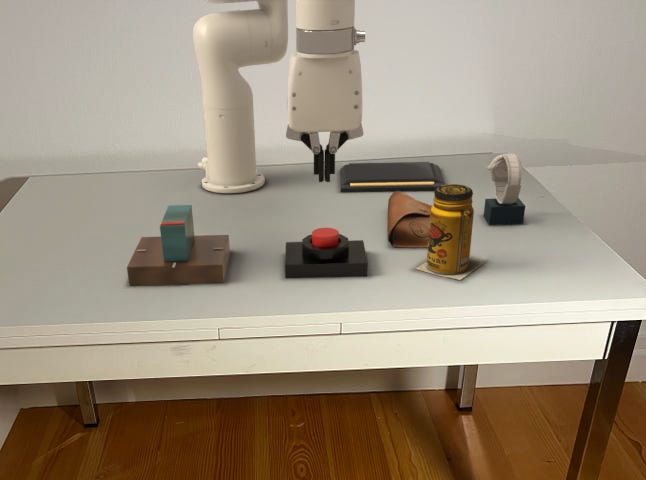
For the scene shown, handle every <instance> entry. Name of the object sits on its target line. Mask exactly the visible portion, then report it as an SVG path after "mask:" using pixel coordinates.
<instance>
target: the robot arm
mask: <svg viewBox="0 0 646 480" xmlns="http://www.w3.org/2000/svg"><path fill="white" fill-rule="evenodd" d="M204 1H206V2H207V3H209V4H210V3H211V4H235V3H246V2H247V3H249V2H256V3H257V5H258V8H255V9H243V10H242V9H238V10H227V11H217V12H212V13H209V14H205V15H203V16H202V17H200V18H199V19H198V20H196V22H195V24H194V26H193V30H192V43H193V48H194V52H195V56H196V61H197V66H198V70H199V77H200V83H201V94H202V103H203V116H204V128H205V129H204V130H205V142H206V153H207V156H203V157H202V158H201V161H199V162H198V163H197V168H198V169H199V170H203V171H205V176H203V178H202V179H201V187H202V188H203V189H204V190H206V191H208V192H211V193H216V194H240V193H241V194H242V193H247V192H251V191H254V190H257V189H260V188H261V187H262V186H264V184H265V178H266V177H265V175H264V174H262V173H261V172H258V171H257V157H256V155H257V154H256V134H255V131H256V130H255V112H254V109H255V108H254V95H253V90H252V87H251V86H250V84H249V83H248V81H247V80H246V79H245V78H244V76H242V74H241V73H240V71H239V69H241V68H245V67H252V66H260V65H269V64H275V63H277V62H280V61H281V60H283V59H284V57H285V56H286V54H287V51H288V46H289V7H288V5H289V3H288V0H204ZM355 8H356V0H295V36H296V37H295V38H296V39H295V41H296V43H295V44H296V48H295V49H296V51H293V52H291V54H290V59H289V65H288V72H287V73H288V74H287V99H286V102H287V103H286V109H287V110H286V111H287V127H286V131H285V137H286V138H287V139H288V140H292V141H297V142H301V143H303V144H304V145H305V146H306V147H307V148H308V149H309V150H310V151H311V153H312V154H313V175H317V176H318V182H319V183H323V182H324V181H325V182H326V183H330V182H331V175H336V153H337V152H338V150H339V149H340V148H341V147H342V146H343V145H344V144H345V143H346V142H347V141H349V140H355V139H358V138H361V137H363V136H364V128H363V124H362V121H363V77H362V66H361V65H362V64H361V58H360V57H361V56H360V51H359V50H356V49H355V46H357V44H360V43H365V42H366V31H365V30H360V29H357V28H356V27H355V14H356V11H355V10H356V9H355ZM328 132H329V136H328V143H327V144H326V146H325V149H324V148H323V145H322V144H321V142H320V141H321V140H320V133H328Z"/></svg>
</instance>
